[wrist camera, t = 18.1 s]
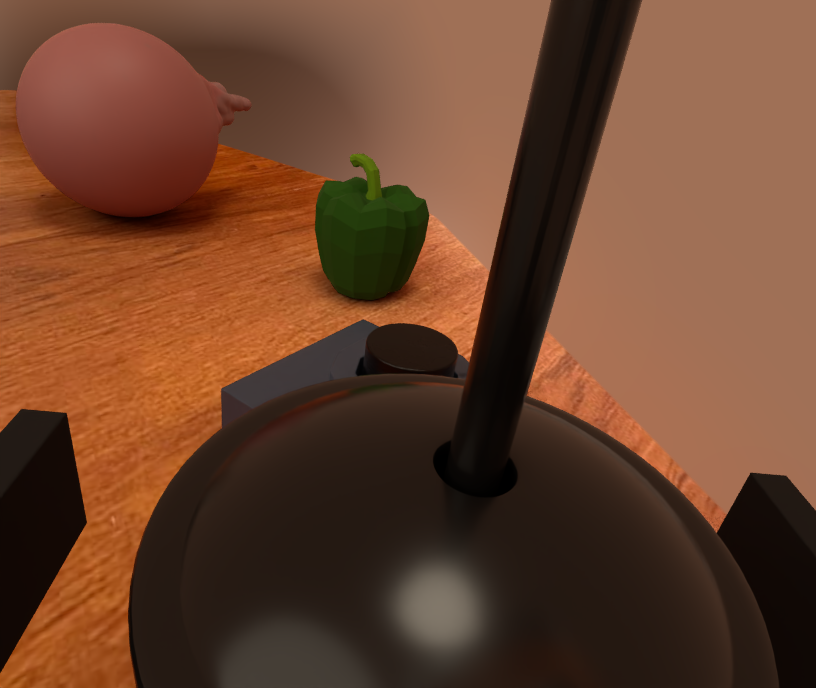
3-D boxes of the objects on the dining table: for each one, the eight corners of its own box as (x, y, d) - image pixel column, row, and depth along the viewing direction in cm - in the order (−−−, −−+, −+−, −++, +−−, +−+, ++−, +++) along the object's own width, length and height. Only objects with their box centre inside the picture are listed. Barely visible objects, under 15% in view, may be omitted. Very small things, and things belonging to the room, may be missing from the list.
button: (467, 382, 30) (475, 347, 29) (418, 420, 26) (425, 382, 25) (396, 348, 32) (401, 314, 31) (343, 379, 28) (346, 342, 27)
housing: (558, 457, 32) (582, 389, 30) (455, 589, 24) (477, 508, 21) (358, 355, 38) (366, 292, 36) (221, 432, 30) (219, 356, 28)
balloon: (292, 224, 57) (300, 50, 50) (66, 254, 45) (31, 27, 37) (218, 179, 67) (215, 26, 59) (13, 194, 54) (-24, 1, 46)
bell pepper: (430, 309, 46) (454, 179, 41) (326, 313, 42) (338, 174, 38) (394, 265, 52) (410, 149, 47) (302, 266, 49) (309, 143, 44)
